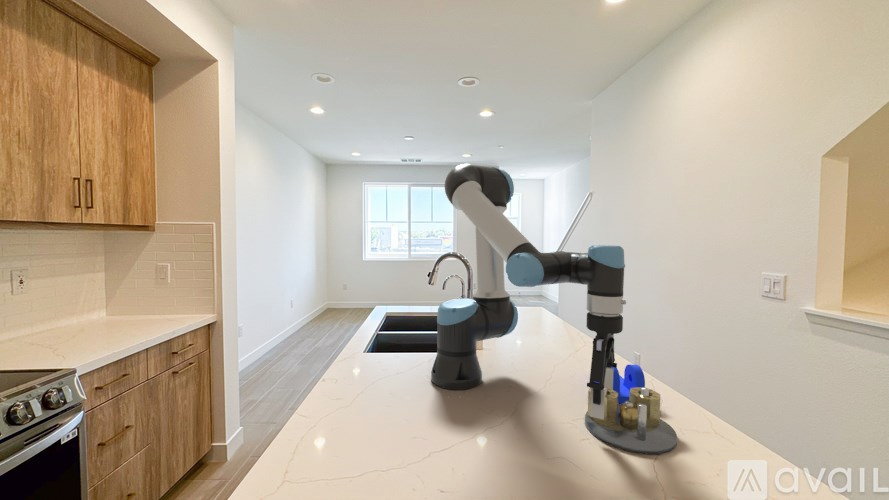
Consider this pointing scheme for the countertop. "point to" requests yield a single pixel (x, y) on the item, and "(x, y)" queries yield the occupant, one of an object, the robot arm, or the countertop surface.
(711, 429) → the countertop surface
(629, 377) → the bracket
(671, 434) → the carrier
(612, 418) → the octagonal wooden tube
